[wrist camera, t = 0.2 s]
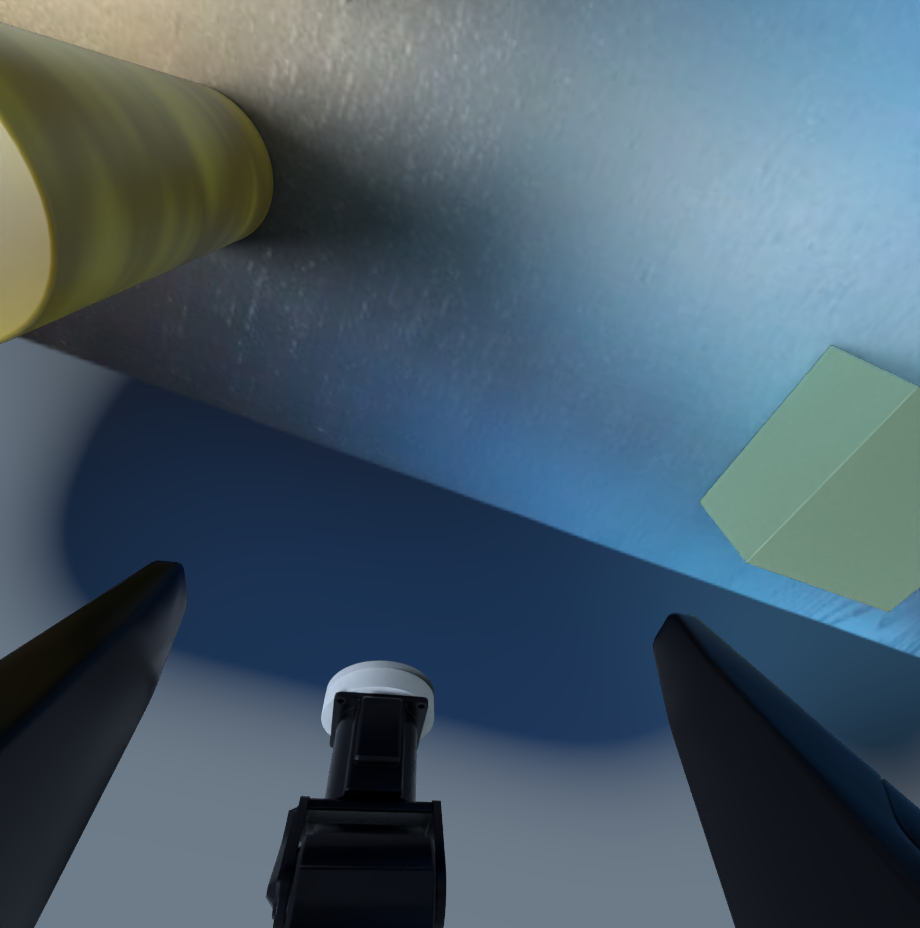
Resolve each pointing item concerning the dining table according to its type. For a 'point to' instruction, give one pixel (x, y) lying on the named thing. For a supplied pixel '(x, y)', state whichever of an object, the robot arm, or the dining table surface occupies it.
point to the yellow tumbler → (112, 176)
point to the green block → (832, 485)
